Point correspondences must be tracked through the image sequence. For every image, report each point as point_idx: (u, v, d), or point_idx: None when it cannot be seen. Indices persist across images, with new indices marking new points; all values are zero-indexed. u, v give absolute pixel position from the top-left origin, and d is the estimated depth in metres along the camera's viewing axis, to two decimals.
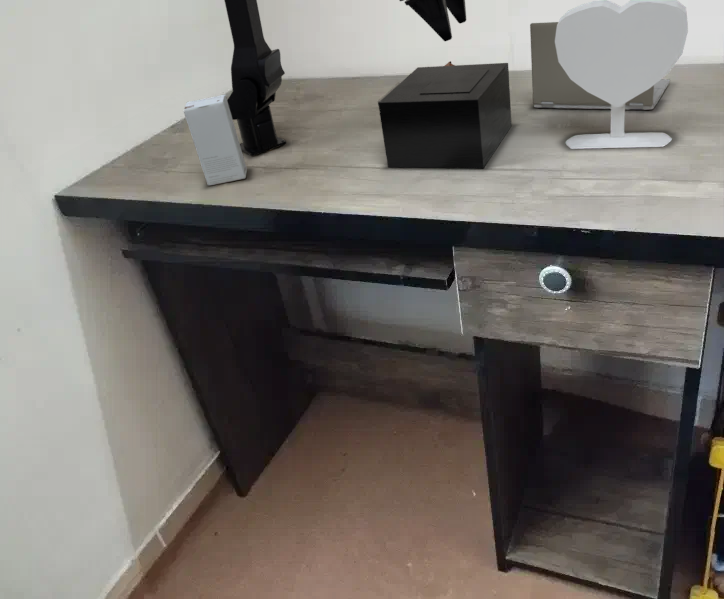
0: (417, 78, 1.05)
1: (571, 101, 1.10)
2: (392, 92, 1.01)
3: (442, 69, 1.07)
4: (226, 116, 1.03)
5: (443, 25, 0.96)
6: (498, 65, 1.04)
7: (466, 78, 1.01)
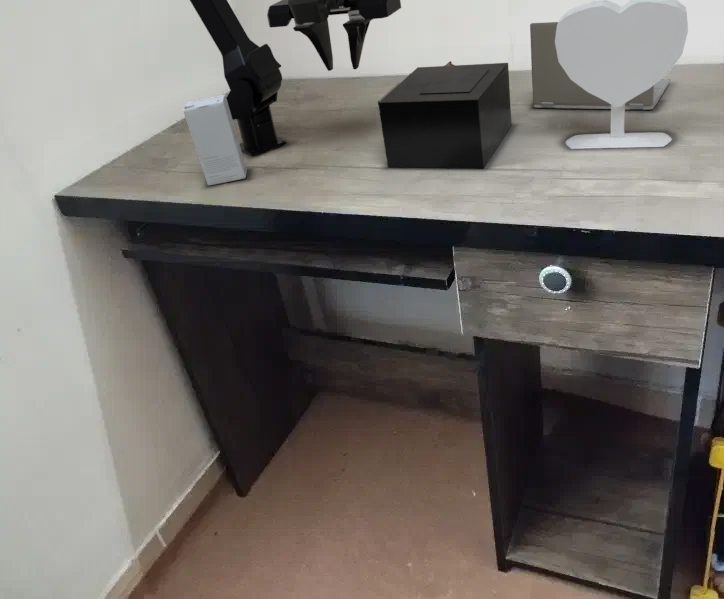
0: (417, 78, 1.05)
1: (571, 101, 1.10)
2: (392, 92, 1.01)
3: (442, 69, 1.07)
4: (226, 116, 1.03)
5: None
6: (498, 65, 1.04)
7: (466, 78, 1.01)
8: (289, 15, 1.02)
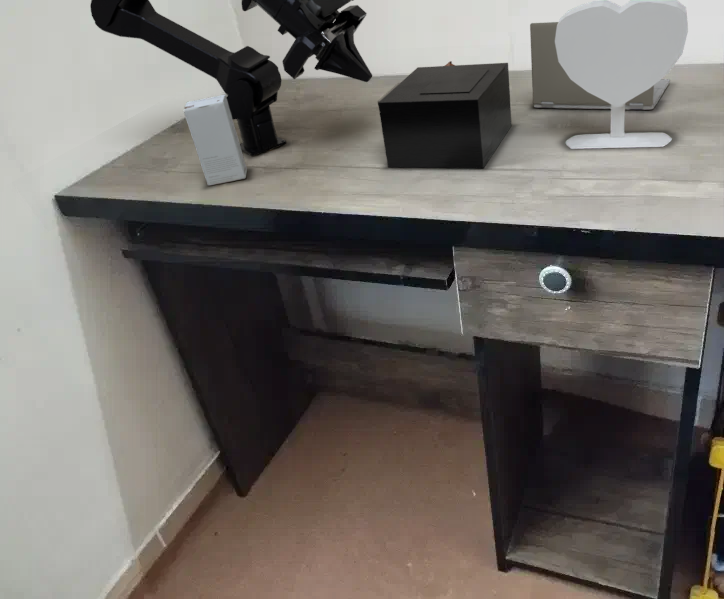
0: (417, 78, 1.05)
1: (571, 101, 1.10)
2: (392, 92, 1.01)
3: (441, 69, 1.07)
4: (226, 116, 1.03)
5: (357, 70, 1.05)
6: (498, 65, 1.04)
7: (466, 78, 1.01)
8: None
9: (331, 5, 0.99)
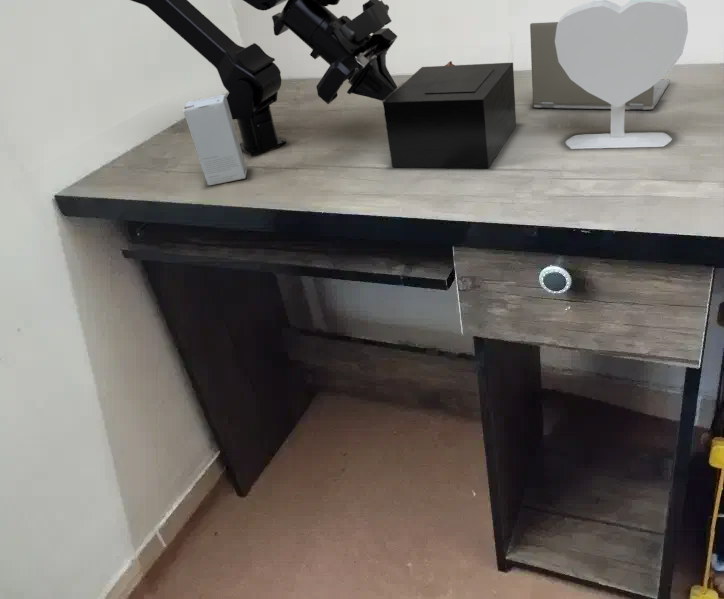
0: (422, 77, 1.05)
1: (571, 101, 1.10)
2: (397, 92, 1.01)
3: (446, 68, 1.07)
4: (226, 116, 1.03)
5: None
6: (503, 65, 1.04)
7: (471, 78, 1.01)
8: None
9: (365, 30, 0.99)
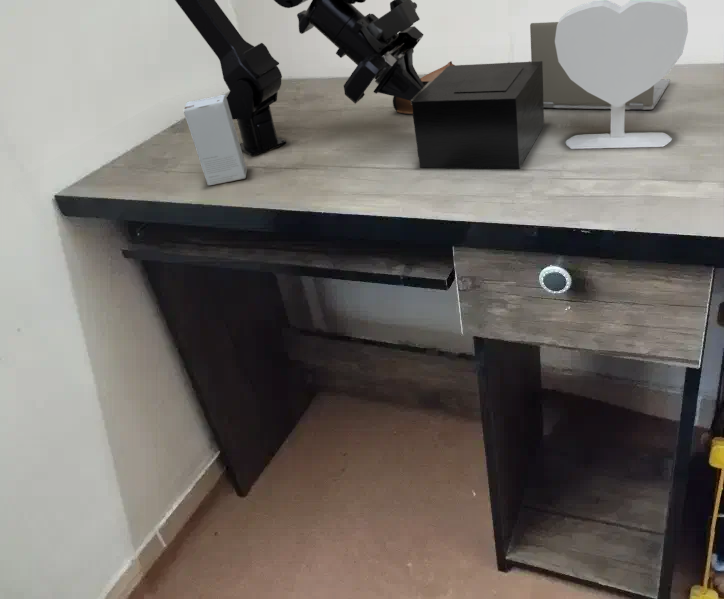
0: (449, 76, 1.03)
1: (571, 101, 1.10)
2: (425, 91, 0.99)
3: (474, 67, 1.05)
4: (226, 116, 1.03)
5: None
6: (532, 64, 1.02)
7: (501, 77, 0.99)
8: None
9: (393, 28, 0.98)
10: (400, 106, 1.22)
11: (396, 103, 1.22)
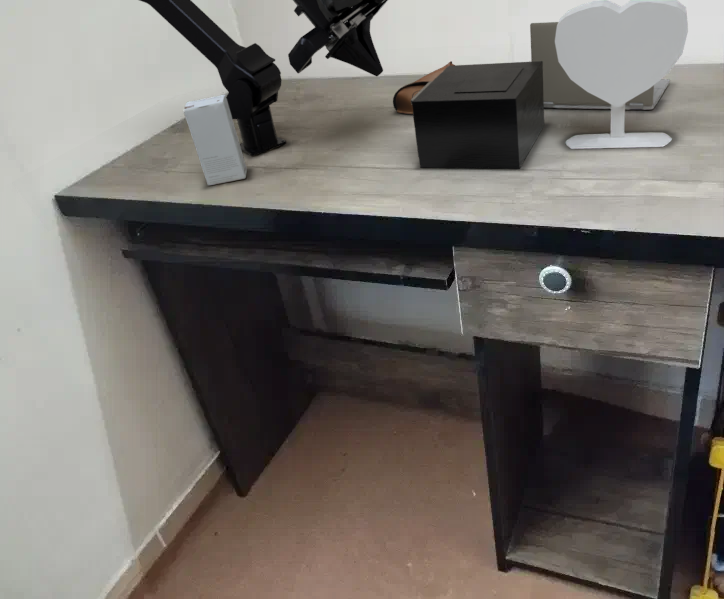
0: (449, 76, 1.03)
1: (571, 101, 1.10)
2: (425, 91, 0.99)
3: (474, 67, 1.05)
4: (226, 116, 1.03)
5: (367, 64, 1.03)
6: (532, 64, 1.02)
7: (501, 76, 0.99)
8: None
9: (342, 2, 0.96)
10: (400, 106, 1.22)
11: (396, 103, 1.22)
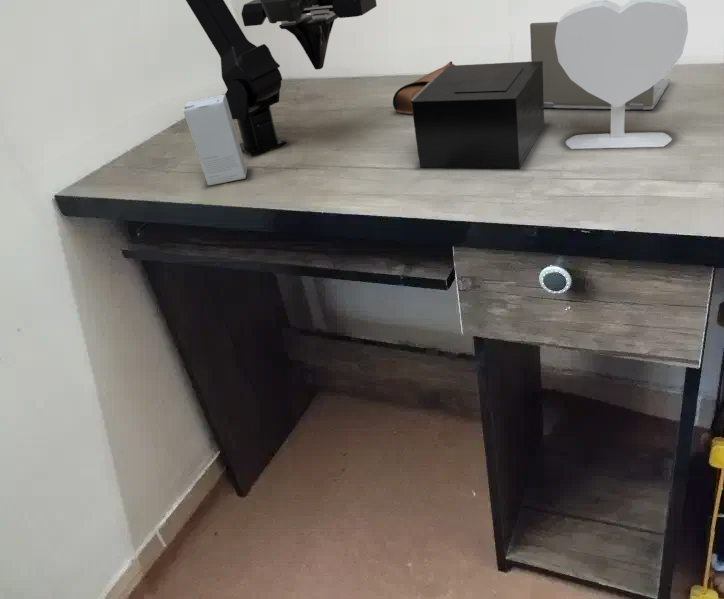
0: (449, 76, 1.03)
1: (571, 101, 1.10)
2: (425, 91, 0.99)
3: (474, 67, 1.05)
4: (226, 116, 1.03)
5: None
6: (532, 64, 1.02)
7: (501, 77, 0.99)
8: (263, 14, 1.01)
9: None
10: (400, 106, 1.22)
11: (396, 103, 1.22)
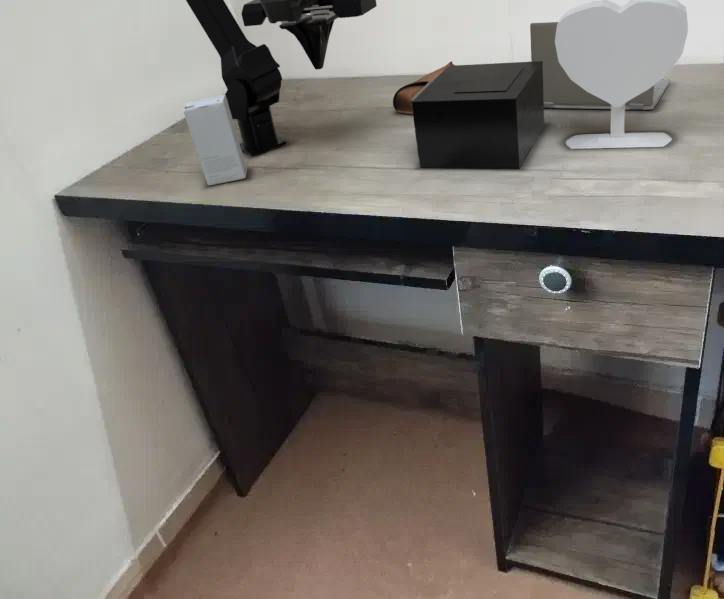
0: (449, 76, 1.03)
1: (571, 101, 1.10)
2: (425, 91, 0.99)
3: (474, 67, 1.05)
4: (226, 116, 1.03)
5: None
6: (532, 64, 1.02)
7: (501, 77, 0.99)
8: (263, 14, 1.01)
9: None
10: (400, 106, 1.22)
11: (396, 103, 1.22)
